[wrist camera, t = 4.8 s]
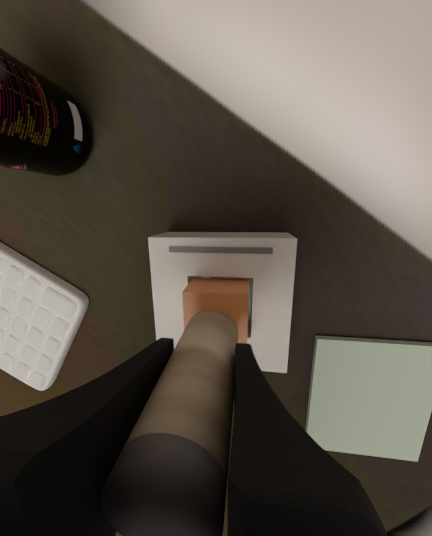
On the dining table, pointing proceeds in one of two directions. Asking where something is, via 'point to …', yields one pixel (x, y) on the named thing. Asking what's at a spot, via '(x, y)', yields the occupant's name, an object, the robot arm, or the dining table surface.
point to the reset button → (218, 301)
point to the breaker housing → (230, 268)
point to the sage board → (370, 396)
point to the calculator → (36, 319)
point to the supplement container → (39, 122)
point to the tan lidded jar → (180, 441)
